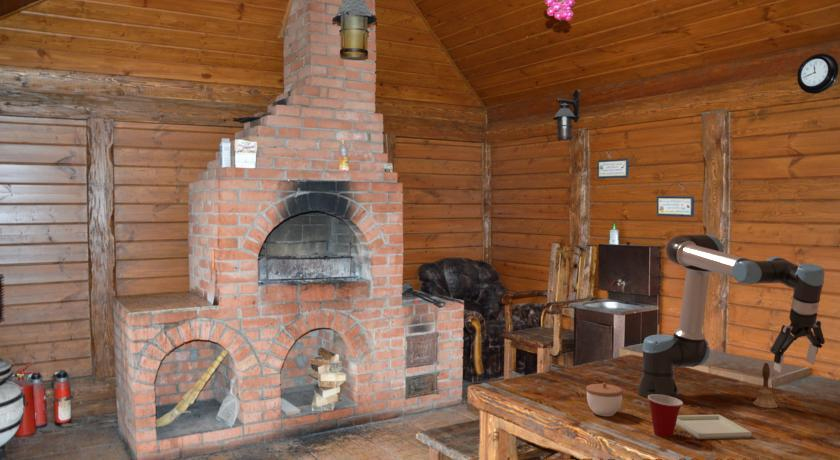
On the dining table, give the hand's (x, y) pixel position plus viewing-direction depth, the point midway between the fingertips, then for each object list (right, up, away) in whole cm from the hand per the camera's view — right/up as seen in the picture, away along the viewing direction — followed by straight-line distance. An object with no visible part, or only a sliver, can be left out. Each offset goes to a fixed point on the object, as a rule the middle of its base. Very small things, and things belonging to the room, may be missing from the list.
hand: (793, 366), depth 214 cm
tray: (-29, -21, -1) cm, 36 cm away
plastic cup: (-46, -21, -7) cm, 51 cm away
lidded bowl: (-60, -20, +15) cm, 65 cm away
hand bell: (+5, -21, +27) cm, 35 cm away
